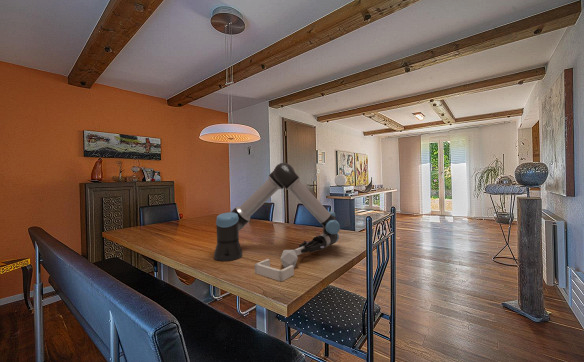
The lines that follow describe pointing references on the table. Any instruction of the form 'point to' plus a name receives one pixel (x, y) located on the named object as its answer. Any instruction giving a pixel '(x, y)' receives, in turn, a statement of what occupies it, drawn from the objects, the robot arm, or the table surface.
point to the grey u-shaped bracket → (273, 271)
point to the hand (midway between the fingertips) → (295, 252)
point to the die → (288, 258)
